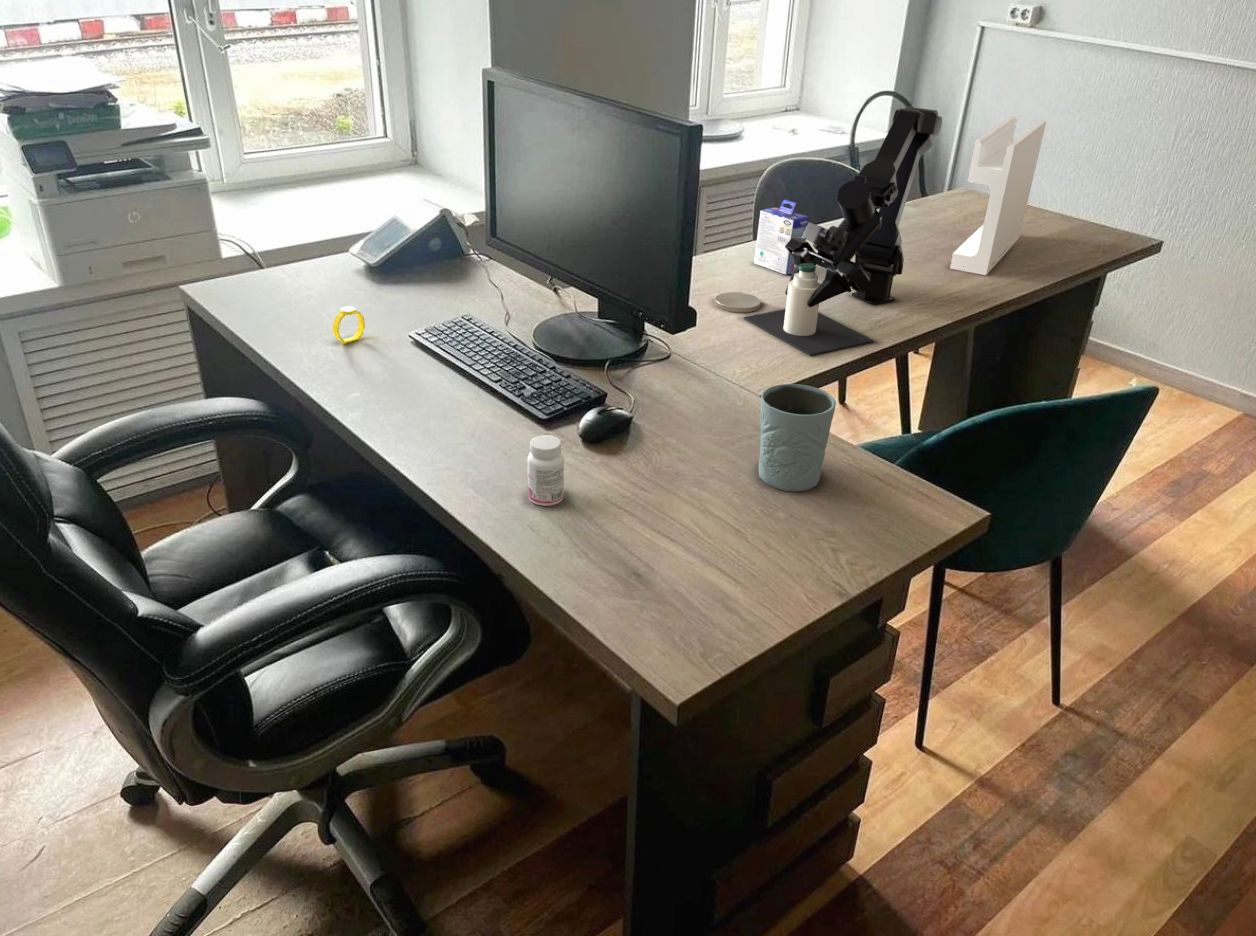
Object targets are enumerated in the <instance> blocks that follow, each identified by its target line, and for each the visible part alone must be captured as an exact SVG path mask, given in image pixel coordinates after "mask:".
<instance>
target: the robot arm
mask: <svg viewBox="0 0 1256 936" xmlns="http://www.w3.org/2000/svg"><path fill="white" fill-rule="evenodd" d="M942 125H943V117H942V116H940V115H939V112H938V110H937V109H936V110H935V109H929V108H921V107H913V106H906V107H905V108H902V107H901V108H900V109H899V108H897V109H895V112H894V114H893V118H892V124H891V126H890V128H889V129H888V132H887V133H886V135H885V138H884V139H883V141H882V144H881V146H880V148H879V150H878V152H877V154H876V155H875V158H874V159H873V160H871V161H870V162H868V163H866V164H864V165H863V167H862V168H861V169H860V171H859V172H858V174H855V175H854V178H853V179H852V180H849V181H847V182H846V183H843V185H841V186H840V188H838V190H837V193H836V199H837V202H838V205H839V208H840V212H841V215H842V218H843V220H842V221H841V222H840V224H838V226H835V225H832V226H829V228H825V227H823V226H821V225H819V224H816V223H813V222H811V221H808V224H807V227H806V229H805V231H804V233H803V235H802V237H801V238H802V239H806V240H807V241H804V240H802V239H799V238H791V239H790V241H789V242H788V243H787V244H786V246H785V248H786V249H787V250H788V251H789V253H790V254H791V255H792V256H793V258H794V263H795V265H794V269H793V273H791V276H790V278H789V281H788V283H787V286H786V289H785V292H784V293H785V295H786V296H787V294H788V285H789V282H790V281H791V280H794V275H795V274H796V273H799V272H800V270H799V265H800V264H802V263H809V264H813V265H815V266H816V267H817V266H819V267H821V268H823V269H825V270H826V272H825V277H824V279H823V281H822V282H821V283H820V284H821V285H820V286H819V287H818V288H817V290H816V291H815V292H814V294H813V295H812V296H811V298H810V299H809V301H808V302H807V305H808V306H809V307H813V306H815V305H817V304H819V305H820V304H821V303H823V302H825V301H827V300H830V299H832V298H835V297H836V296H837V297H838V296H840V295H841V294H845V293H851V296H852V297H854V298H856V299H858V300H860V301H863V302H865V303H867V304H869V305H872V306H874V305H881V304H886V303H889V302H895V301H896V297H894V296H892V295H891V294H892V287H893V282H894V277H896V276H897V275H903V268H904V262H905V257H904V254H903V247H902V243H903V242H902V241H903V240H902V237H901V232H900V228H899V225H900V223H901V219H902V216H903V212H904V209H905V206H906V203H907V200H908V197H909V194H910V190H911V187H912V184H913V182H914V178H915V175H916V172H917V168H918V165H919V162H920V160H921V157H922V156H924V154H925V153H927V152H928V151H929V150H930V149H931V148H932V147H933V145H934V142H935V140H936V137H937V136H939V135H940V132H941V129H942ZM876 207H878V208H879V209H878V210H877V208H876ZM808 241H809V242H808ZM810 242H811V243H812V245H811V244H810ZM815 250H817V252H816V251H815ZM853 258H854V261H852V259H853ZM814 274H815V275H817V274H816V273H815V272H814ZM852 291H853V292H852ZM854 291H855V292H854Z"/></svg>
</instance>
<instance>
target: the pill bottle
mask: <svg viewBox="0 0 1256 936" xmlns="http://www.w3.org/2000/svg"><path fill="white" fill-rule="evenodd" d="M529 451H530V452H529V453H528V455H527V495H528V500H529V501H530V502H531V503H533V504H534V505H537V506H544V507H548V506H549V507H550V506H555V505H557V504H560V503H561V502H562V501H563V500H564V496H565V484H564V483H565V457H564V454H563V453H562V441H561V439H560V438H558V437H557V436H555V435H550V434H541V435H537V436H535V437H533V438H532V439H531V440H530V441H529Z"/></svg>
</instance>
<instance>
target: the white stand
mask: <svg viewBox="0 0 1256 936" xmlns="http://www.w3.org/2000/svg"><path fill="white" fill-rule="evenodd" d="M1017 122H1018V119H1016V116H1010V117H1009V118H1007V119H1005V120H1003V122H1001V123H1000V124H998V125H997V126H995V127H994V128H992V129H990V130H988V132H986V133H984V134H983V135H981V136H980V137H978V138H976V140H974V141H975V142H974V147H975V148H973V152H972V157H971V162H970V166H969V171H968V174H969V175H968V177H967V183H970V184H977V185H983V186H986V187H987V188H988V189H989V198H988V202H987V208H986V212H985V215H984V216H985V217H984V222H983V224H982V225H981V226H980V227H979V228H977V230H975V231H974V232H973V234H972V235H970V236H969V237H968V238H967V239H966V240H965V241H964V242H963V243H962V244H961V245H960V246H959V247H957V249H955V251H954V252H952V255H951V257H952V258H951V260H950V263H951V264H950V265H949V269H952V270H957V271H961V272H967V273H972V274H977V275H983V276H987V275H988V274H989V272H991V271H992V269H993V268H995V266H996V265H997V264H998V262H1000V261H1001V259H1002V258H1003V257H1004V256H1005V255H1006V254H1007V252H1008V251H1009V250H1010V249H1011V248H1012V247H1013V246H1014V245H1015V244H1016V243H1017V241H1018V240H1020V236H1021V233H1022V232H1021V231H1022V228H1023V223H1024V219H1025V215H1026V211H1027V206H1028V202H1029V198H1030V194H1031V189H1032V184H1033V181H1034V176H1035V171H1036V169H1037V168H1036V167H1037V164H1038V159H1039V155H1040V151H1041V147H1042V142H1043V138H1044V135H1045V133H1044V132H1045V130H1046V125H1047V120H1041V121H1040V122H1038V123H1037V124H1036V125H1034V126H1033V127H1031V128H1030V129H1029V130H1027V131H1026V132H1025V133H1023V134H1022V135H1021V136H1020V137H1019V138H1017V139H1016V140H1014V137H1015V131H1016V127H1017V125H1016V124H1017ZM1019 233H1020V235H1019V236H1018V234H1019ZM1017 236H1018V237H1017ZM1016 237H1017V238H1016ZM1015 238H1016V239H1015ZM1014 239H1015V240H1014ZM1013 240H1014V242H1013V243H1012V241H1013ZM1011 243H1012V244H1011ZM1010 244H1011V245H1010ZM1009 245H1010V246H1009ZM1008 246H1009V247H1008ZM1007 247H1008V248H1007ZM1006 248H1007V249H1006ZM1005 249H1006V250H1005ZM1004 250H1005V252H1004ZM1003 252H1004V253H1003ZM1002 253H1003V254H1002ZM1001 254H1002V255H1001ZM1000 255H1001V256H1000ZM999 256H1000V257H999ZM995 261H996V262H995ZM994 262H995V263H994ZM993 263H994V264H993ZM992 264H993V265H992ZM963 266H964V267H963Z"/></svg>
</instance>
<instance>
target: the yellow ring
mask: <svg viewBox="0 0 1256 936" xmlns="http://www.w3.org/2000/svg"><path fill="white" fill-rule="evenodd" d="M353 315H356V317H357V318H358V326H357V329H356V332H355V333H354V335H353V336H350V337H347V338H342V336H341V334H340V325H341V323H342V320H343V319H344V317H346V316H353ZM365 328H366V321H365V318H364V315H363V314H362V313H361V312H360V311H358V310H357V308H356V307H355V306H351V305H350V306H348V305H347V306H342V307H340V308H339V313H338V314H337V315H336V316H335V317H334V320H333V323H332V333H333V335H334V338H335V339H336V340H337V341H339V342H340V343H343V344H348V343H353V342H355V341H359V340H360V339H361V338H362V336H363V334H364V331H365Z"/></svg>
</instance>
